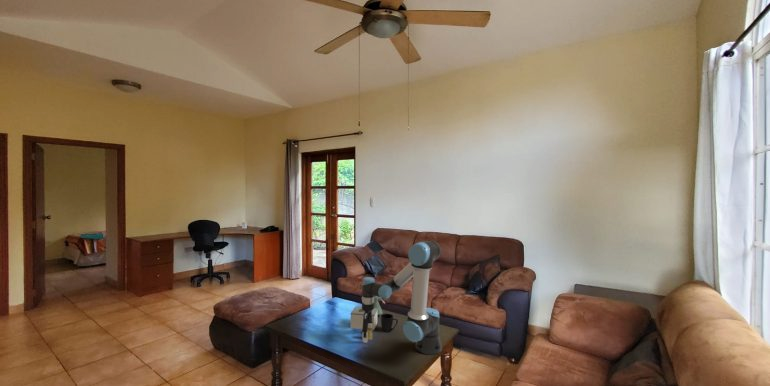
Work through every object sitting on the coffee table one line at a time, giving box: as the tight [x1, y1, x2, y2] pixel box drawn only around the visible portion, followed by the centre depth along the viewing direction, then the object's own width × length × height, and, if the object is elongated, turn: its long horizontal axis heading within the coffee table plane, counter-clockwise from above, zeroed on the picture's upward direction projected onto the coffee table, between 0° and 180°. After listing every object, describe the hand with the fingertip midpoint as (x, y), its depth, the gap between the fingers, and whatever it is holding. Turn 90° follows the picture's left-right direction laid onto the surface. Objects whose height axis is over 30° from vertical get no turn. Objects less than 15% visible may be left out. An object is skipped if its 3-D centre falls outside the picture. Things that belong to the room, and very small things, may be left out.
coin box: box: [350, 306, 378, 331], centre depth 219 cm, size 16×12×10 cm
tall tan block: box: [361, 328, 374, 341], centre depth 201 cm, size 6×3×6 cm, turn 81°
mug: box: [380, 313, 399, 333], centre depth 212 cm, size 8×12×10 cm
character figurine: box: [374, 296, 386, 318], centre depth 236 cm, size 16×8×18 cm, turn 65°
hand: (367, 337), depth 201 cm, fingers open, 11 cm apart
